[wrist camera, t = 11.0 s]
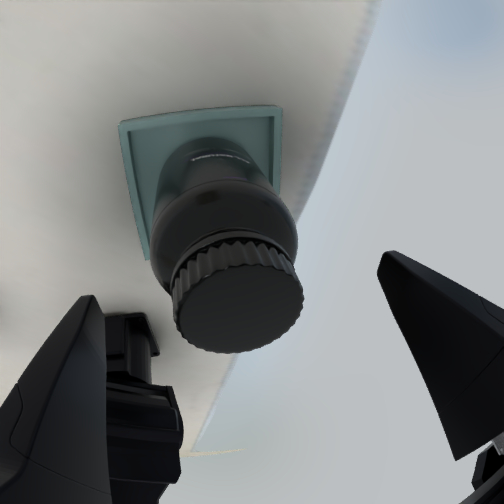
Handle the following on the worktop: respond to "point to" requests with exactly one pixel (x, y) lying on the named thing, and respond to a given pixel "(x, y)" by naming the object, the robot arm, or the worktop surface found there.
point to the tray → (183, 131)
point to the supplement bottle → (224, 248)
